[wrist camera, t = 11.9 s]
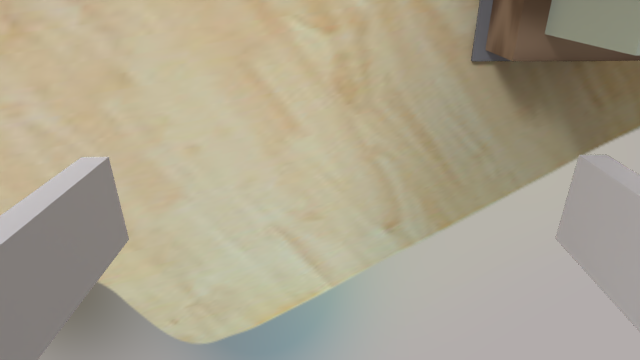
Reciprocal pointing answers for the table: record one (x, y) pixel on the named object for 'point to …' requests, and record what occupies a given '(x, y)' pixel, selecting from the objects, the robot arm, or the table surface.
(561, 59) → the walnut block
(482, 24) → the slate mat
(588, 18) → the sage block
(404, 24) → the table surface
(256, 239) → the table surface
